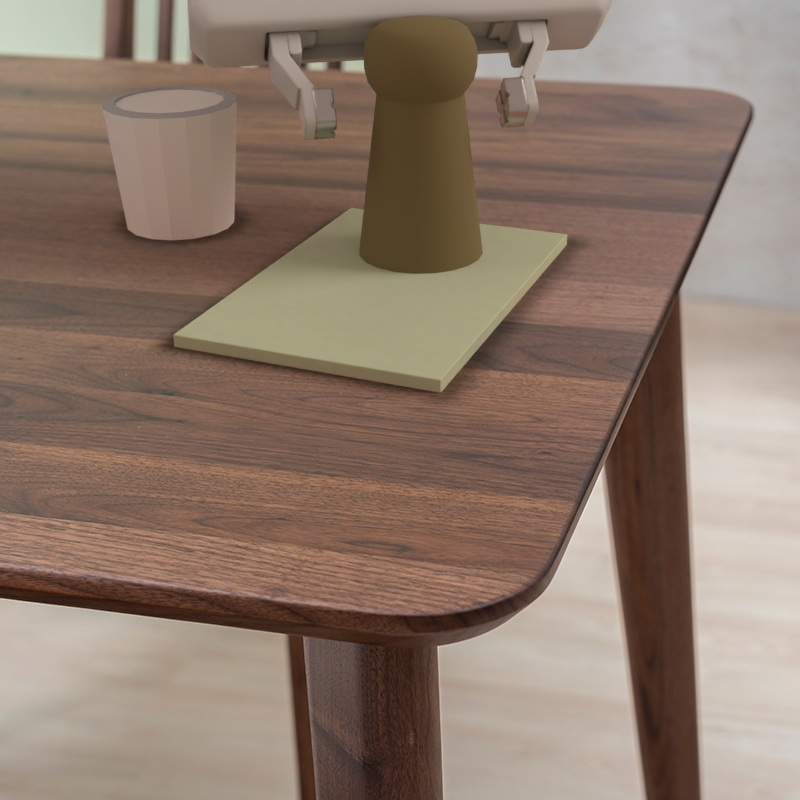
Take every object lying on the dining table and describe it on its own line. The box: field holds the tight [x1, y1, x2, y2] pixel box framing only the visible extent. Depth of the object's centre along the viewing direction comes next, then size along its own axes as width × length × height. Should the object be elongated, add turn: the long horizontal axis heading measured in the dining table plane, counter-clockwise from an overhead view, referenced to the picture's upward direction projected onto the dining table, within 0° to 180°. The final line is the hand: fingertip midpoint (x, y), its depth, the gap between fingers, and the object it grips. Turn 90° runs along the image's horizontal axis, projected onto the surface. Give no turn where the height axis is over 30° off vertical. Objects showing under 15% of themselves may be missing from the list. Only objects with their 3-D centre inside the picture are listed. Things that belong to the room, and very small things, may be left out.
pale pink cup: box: [101, 86, 238, 241], centre depth 66 cm, size 7×7×7 cm
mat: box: [172, 207, 568, 394], centre depth 58 cm, size 18×12×1 cm, turn 158°
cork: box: [359, 15, 483, 274], centre depth 59 cm, size 6×6×11 cm
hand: (421, 127), depth 58 cm, fingers open, 8 cm apart
